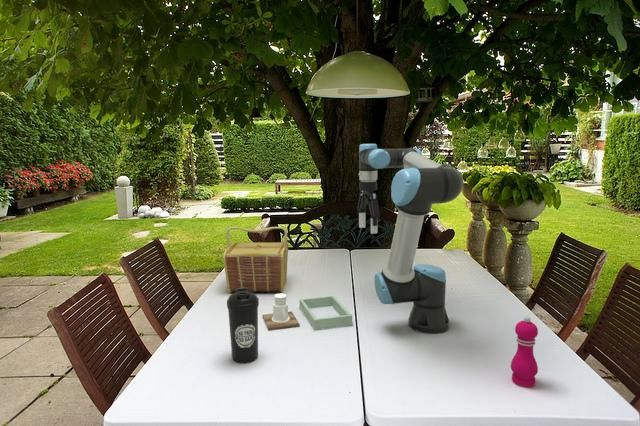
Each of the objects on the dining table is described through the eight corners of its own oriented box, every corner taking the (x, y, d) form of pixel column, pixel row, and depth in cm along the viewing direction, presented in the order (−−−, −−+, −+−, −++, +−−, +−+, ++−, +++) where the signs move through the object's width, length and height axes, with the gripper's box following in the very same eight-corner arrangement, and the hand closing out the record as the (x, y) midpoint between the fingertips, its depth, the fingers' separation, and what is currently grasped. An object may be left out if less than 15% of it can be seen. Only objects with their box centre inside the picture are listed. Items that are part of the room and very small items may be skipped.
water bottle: (230, 366, 147) (227, 297, 144) (228, 352, 157) (225, 287, 153) (262, 362, 150) (260, 293, 146) (258, 348, 160) (255, 284, 156)
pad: (299, 326, 178) (299, 324, 177) (268, 330, 174) (268, 328, 174) (291, 313, 191) (291, 311, 191) (262, 317, 188) (262, 314, 188)
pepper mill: (529, 375, 139) (533, 311, 136) (541, 388, 132) (546, 321, 129) (505, 375, 139) (509, 312, 136) (516, 388, 132) (520, 321, 129)
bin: (352, 325, 178) (352, 315, 177) (314, 330, 174) (314, 320, 173) (333, 304, 201) (333, 295, 200) (299, 308, 197) (299, 299, 196)
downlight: (269, 317, 185) (268, 293, 183) (285, 314, 187) (285, 290, 185) (275, 325, 177) (275, 300, 175) (292, 322, 180) (292, 297, 178)
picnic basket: (222, 296, 213) (219, 232, 208) (234, 279, 238) (231, 222, 233) (286, 296, 212) (284, 232, 207) (291, 279, 237) (289, 221, 232)
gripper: (349, 178, 206) (350, 225, 210) (371, 183, 183) (370, 236, 186) (365, 178, 208) (365, 224, 212) (388, 183, 185) (388, 235, 188)
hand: (368, 230), depth 199 cm, fingers open, 13 cm apart
